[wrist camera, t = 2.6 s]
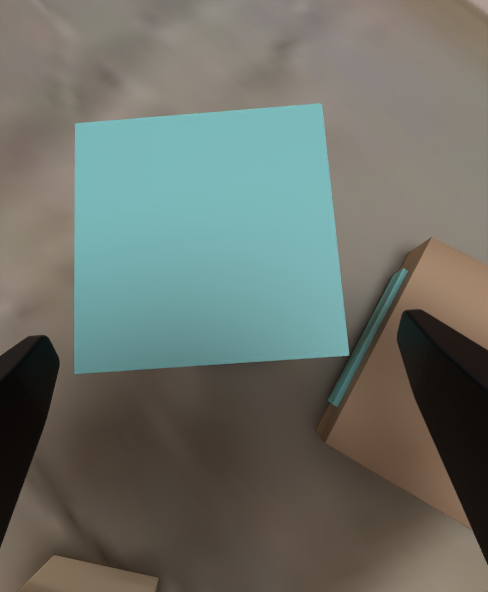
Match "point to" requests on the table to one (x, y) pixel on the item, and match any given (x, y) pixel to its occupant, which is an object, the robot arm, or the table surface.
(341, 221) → the table surface
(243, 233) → the teal pillar
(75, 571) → the birch cube
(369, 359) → the tan flat block
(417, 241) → the table surface
